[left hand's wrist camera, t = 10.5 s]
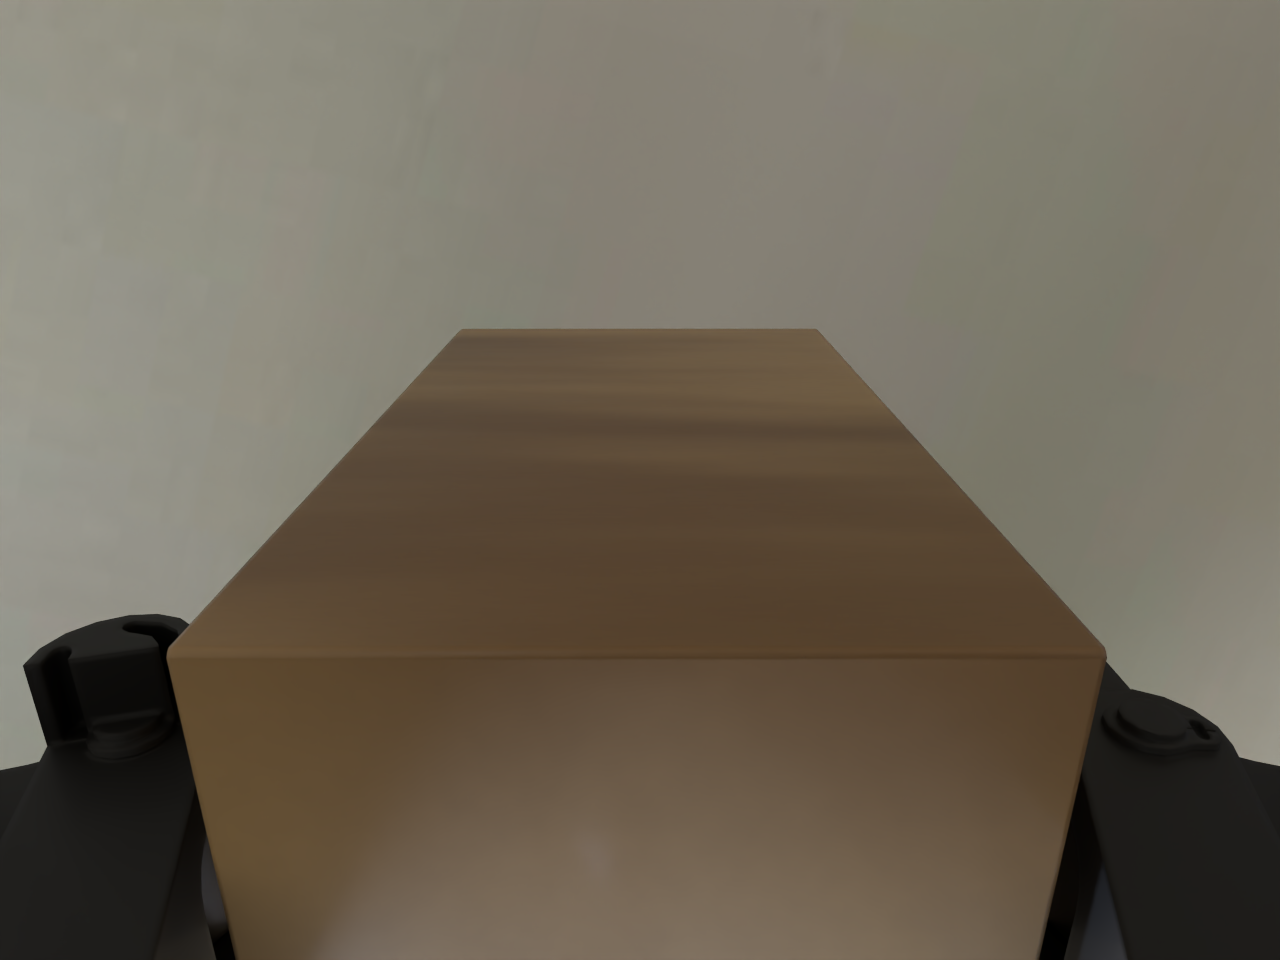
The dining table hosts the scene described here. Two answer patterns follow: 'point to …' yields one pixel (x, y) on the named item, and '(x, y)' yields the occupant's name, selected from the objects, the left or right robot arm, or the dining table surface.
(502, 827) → the bar
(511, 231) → the dining table surface
